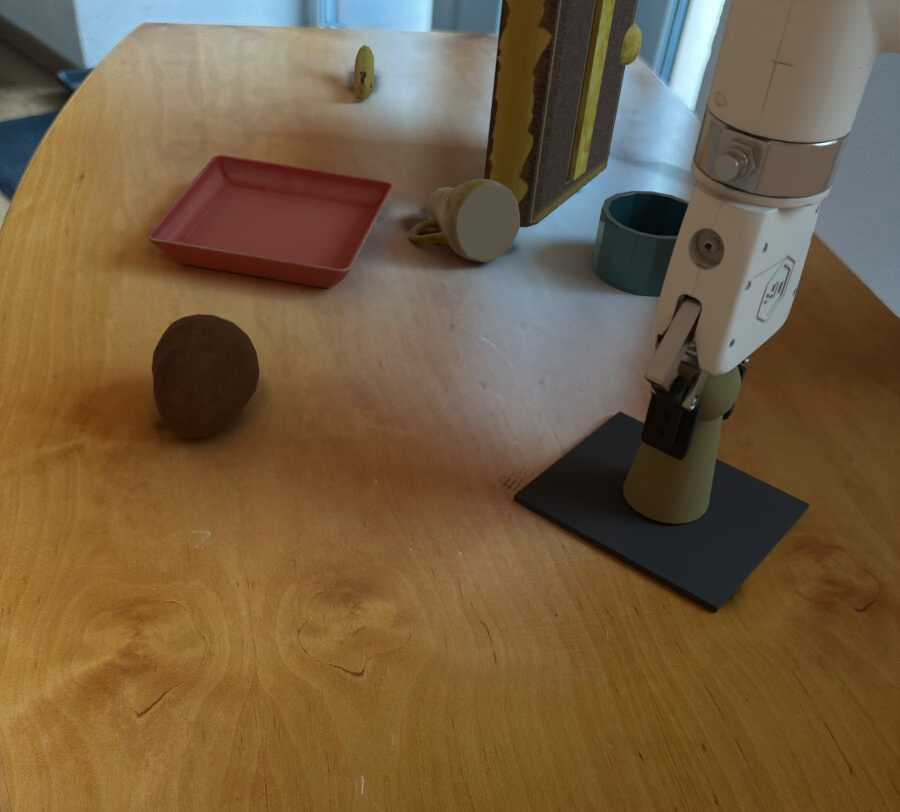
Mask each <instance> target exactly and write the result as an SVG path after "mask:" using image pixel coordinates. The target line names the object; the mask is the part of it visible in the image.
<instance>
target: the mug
mask: <svg viewBox="0 0 900 812" xmlns="http://www.w3.org/2000/svg"><path fill="white" fill-rule="evenodd" d="M426 215H427V219H426V220H424V221H421V222H419V223H416V224H415V225H413V226H412V228H411V229H410V230H409V232H408V236H407V237H409V238H408V239H409V240H410V241H412V242H413V243H415V244H419V245H427V244H444V245H448V246H450V248H451V249H452V250H453V251H454V253H456V254H458V255H459V256H460V257H462V258H464V259H466V260H468V261H473V262H479V263H480V262H481V263H491V262H494V261H495V260H497V259H499V258H501V257H502V256H504V254H507V251H509V249H510V248H511V246H512V245H513V243H514V242H515V240H516V237H517V236H518V233H519V230H520V227H521V226H520V213H519V207H518V204H517V201H516V198H515V197H514V195H513V194H512V192H511V191H510V190H509V189H508V188H507V187H505V186H504V185H502V184H500V183H498V182H496V181H493V180H488V179H484V178H476V179H471V180H468V181H465V182H463V183H461V184H459V185H458V186H457V185H456V186H455V187H449V186H444V187H440V188H437V189H436V190H435V191H433V192H432V194H430V197H429V198H428V200H427V203H426ZM429 228H432V229H433V228H434V229H437V230H440V231H439V232H434V233H427V234H420V233H421V232H423V231H424V230H426V229H429Z"/></svg>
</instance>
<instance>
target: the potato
mask: <svg viewBox="0 0 900 812" xmlns="http://www.w3.org/2000/svg"><path fill="white" fill-rule="evenodd" d="M151 360H152V361H151V362H152V363H151V373H152V379H153V380H152V383H153V385H152V386H153V387H152V392H153V396H154V401H155V406H156V408H157V410H158V412H159V415H160V417H161V418H162V421H163V422H164V424H165V425H166V426H167V428H169V429H170V430H171V431H172V432H174V433H175V434H176V435H177V436H180V437H183V438H186V439H190V440H196V439H202V438H207V437H211V436H214V435H216V434H218V433H219V432H221V431H222V430H224V429H226V428H227V427H228V426H229V425H230V424H231V423H233V422H234V421H235V420H236V419H237V418H238V417H239V416H240V415H241V413H242V412H243V410H244V409H245V408H246V406H247V404H248V403H249V402H250V400H251V399H252V398H253V396H254V394H255V393H256V391H257V387H258V383H259V379H260V364H259V358H258V352H257V350H256V348H255V345H254V343H253V341H252V339H251V338H250V336H249V334H247V333H246V332H245V331H244V330H243V329H242V328H241V327H239V326H238V324H236V323H234V322H233V321H231V320H229V319H226V318H223V317H220V316H218V315H215V314H204V313H203V314H202V313H196V314H191V315H187V316H183V317H180V318H178V319H176V320H175V321H173V322H171V323H170V324H169V326H168V327H167V328H166V329H165V331H164V332H163V333H162V335H161V337H160V338H159V341H158V342H157V344H156V345H155V348H154V351H153V353H152V359H151Z"/></svg>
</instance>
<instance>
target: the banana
mask: <svg viewBox="0 0 900 812" xmlns="http://www.w3.org/2000/svg"><path fill="white" fill-rule="evenodd" d="M374 86H375V57H374V53H373V51H372V49H371V48H370V46H369V45H364V44H363V45H362V46H361V47H359V49H358V51H357V54H356V56H355V60H354V73H353V95H354V96H355V97H356V98H357V99H358V100H359V99H360V100H363V101H366V100H368V99H370V97H371V95H372V93H373V91H374V88H375V87H374ZM365 99H366V100H365ZM360 100H359V101H360Z"/></svg>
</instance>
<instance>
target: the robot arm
mask: <svg viewBox="0 0 900 812" xmlns="http://www.w3.org/2000/svg"><path fill="white" fill-rule="evenodd" d="M719 46H720V47H719V50H718V54H717V59H716V63H715V67H714V71H713V75H712V79H711V84H710V88H709V93H708V95H707V101H706V103H705V106H704V110H703V115H702V119H701V124H700V127H699V131H698V136H697V138H696V139H697V140H696V144H695V148H694V153H693V157H692V160H691V164H690V171H691V173H692V175H693V176H694V178H695V179H696V180H697V181H696V183H695V186H694V188H693V190H692V194H691V196H690V199H689V205H688V208H687V210H686V213H685V216H684V219H683V222H682V225H681V228H680V231H679V234H678V237H677V240H676V243H675V247H674V250H673V253H672V256H671V260H670V263H669V266H668V270H667V273H666V277H665V280H664V284H663V287H662V291H661V295H660V296H659V300H658V304H657V308H656V312H655V316H654V320H653V326H652V335H651V341H652V346H653V348H654V349H655V350H656V351H654V354H653V356H652V357H651V359H650V362H649V363H648V366H647V367H646V369H645V371H644V379H645V380H646V381H647V382H648V383H649V384H650V389H649V390H650V391H649V392H650V394H651V396H650V399H649V403H648V407H647V411H646V415H645V418H644V422H643V423H644V426H643V430H642V434H641V439H642V441H643V442H644V443H645V444H647V445H649V446H651V447H653V448H655V449H657V450H659V451H661V452H663V453H665V454H667V455H670V456H672V457H674V458H676V459H678V460H682V459H683V458H685V457H686V456H687V455H688V452H689V449H690V446H691V442H692V439H693V436H694V432H695V429H696V426H697V422H698V419H699V416H700V412H701V409H702V406H701V405H698V404H697V402H698V400H699V397H700V395H701V392H702V390H703V388H704V385H705V383H706V380H707V378H708V376H709V373H710V374H711V375H713V376H719V375H722V374H725V373H727V372H729V371H730V370H732V369H733V368H734V367H736V366H738V369H739V372H740V377H741V385H742V384H743V381H744V377H745V375H746V373H747V369H748V367H746V366H744V365H746V364H748V363H749V361H750V359H751V357H752V356H753V353H754V352H755V351H756V350H757V349H759V348H760V347H761V346H762V345H763V344H764V343H765V342H767V341H768V340H769V339H770V338H771V337H773V336H774V334H776V333H777V332H778V331H779V330H780V329H781V328H782V326H784V324H785V322H786V321H787V319H788V317H789V315H790V312H791V310H792V307H793V303H794V300H795V297H796V293H797V290H798V287H799V283H800V280H801V276H802V273H803V270H804V266H805V263H806V259H807V257H808V252H809V249H810V246H811V242H812V239H813V235H814V232H815V228H816V224H817V221H818V216H819V213H820V208H821V207H820V206H821V203H822V202H823V201H824V200H826V199H827V198H828V197H829V195H830V192H831V189H832V186H833V183H834V181H835V178H836V174H837V172H838V169H839V166H840V163H841V161H842V157H843V154H844V152H845V148H846V146H847V143H848V140H849V137H850V134H851V130H852V127H853V124H854V122H855V120H856V116H857V114H858V110H859V107H860V105H861V101H862V99H863V96H864V93H865V90H866V87H867V84H868V81H869V79H870V75H871V73H872V69H873V67H874V65H875V61H876V59H877V58H879V57H880V56H882V55H883V54H889V53H890V54H900V0H730V4H729V8H728V13H727V16H726V21H725V26H724V29H723V32H722V37H721V42H720V45H719ZM691 344H693V345H695V346H696V349H697V353H695V352H693V351H691V350H689V349H688V347H691ZM680 362H682V363H684V364H686V365H689V366H691V367H693V368H695V369H696V370H695V372H694V374H693V377H692V379H691V382H690V384H689V385H688V383H687V381H686V379H685V378H683V377H681V376H679V373H678V367H679V364H680ZM735 405H736V402H735V403H734V405H733V406H732V408H731V409H730V410H729V411H727V412H726V413H725V414H723V419H722V421H726V420H728V419H729V418H730V417H731V416H732V415H733V411H734V407H735Z"/></svg>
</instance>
